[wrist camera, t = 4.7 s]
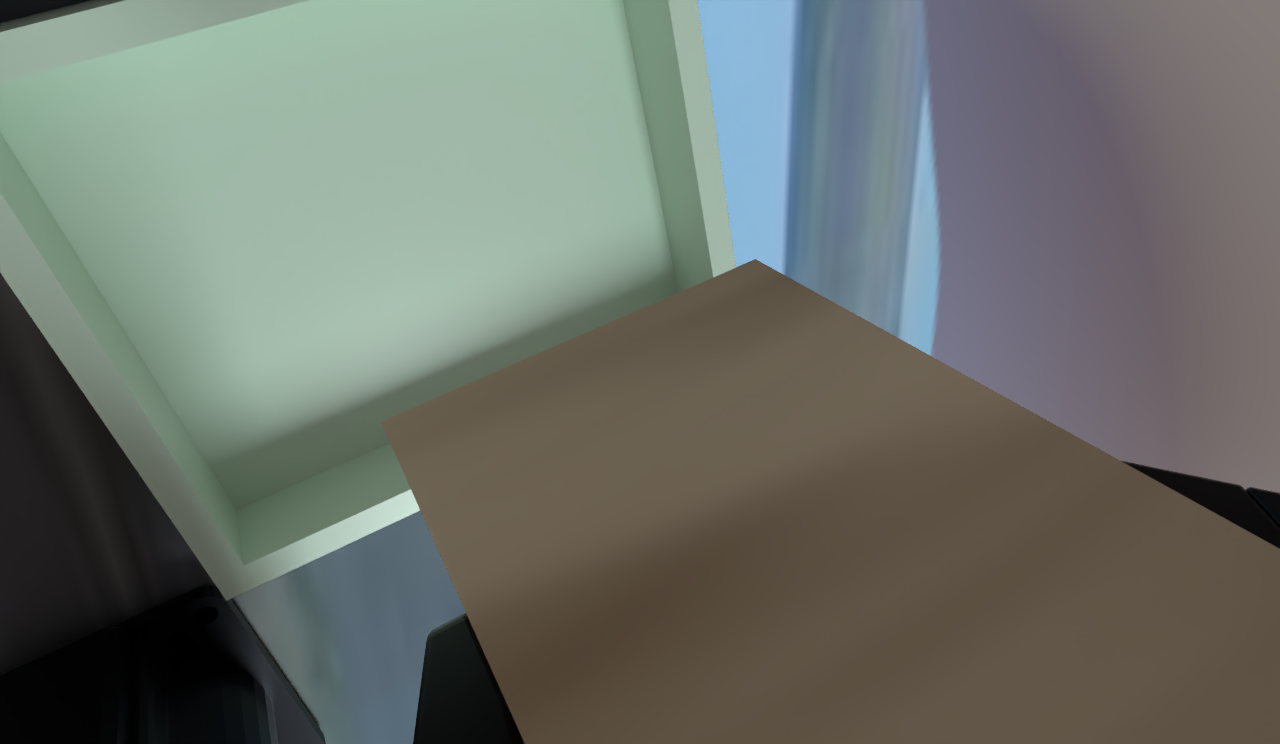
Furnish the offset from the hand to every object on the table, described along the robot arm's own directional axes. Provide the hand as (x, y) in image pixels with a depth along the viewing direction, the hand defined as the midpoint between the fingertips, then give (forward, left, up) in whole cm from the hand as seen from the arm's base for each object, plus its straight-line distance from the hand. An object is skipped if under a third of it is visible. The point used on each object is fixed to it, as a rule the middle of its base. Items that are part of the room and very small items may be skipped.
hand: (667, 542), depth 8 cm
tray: (0, 0, -12) cm, 12 cm away
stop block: (0, 0, -1) cm, 1 cm away
